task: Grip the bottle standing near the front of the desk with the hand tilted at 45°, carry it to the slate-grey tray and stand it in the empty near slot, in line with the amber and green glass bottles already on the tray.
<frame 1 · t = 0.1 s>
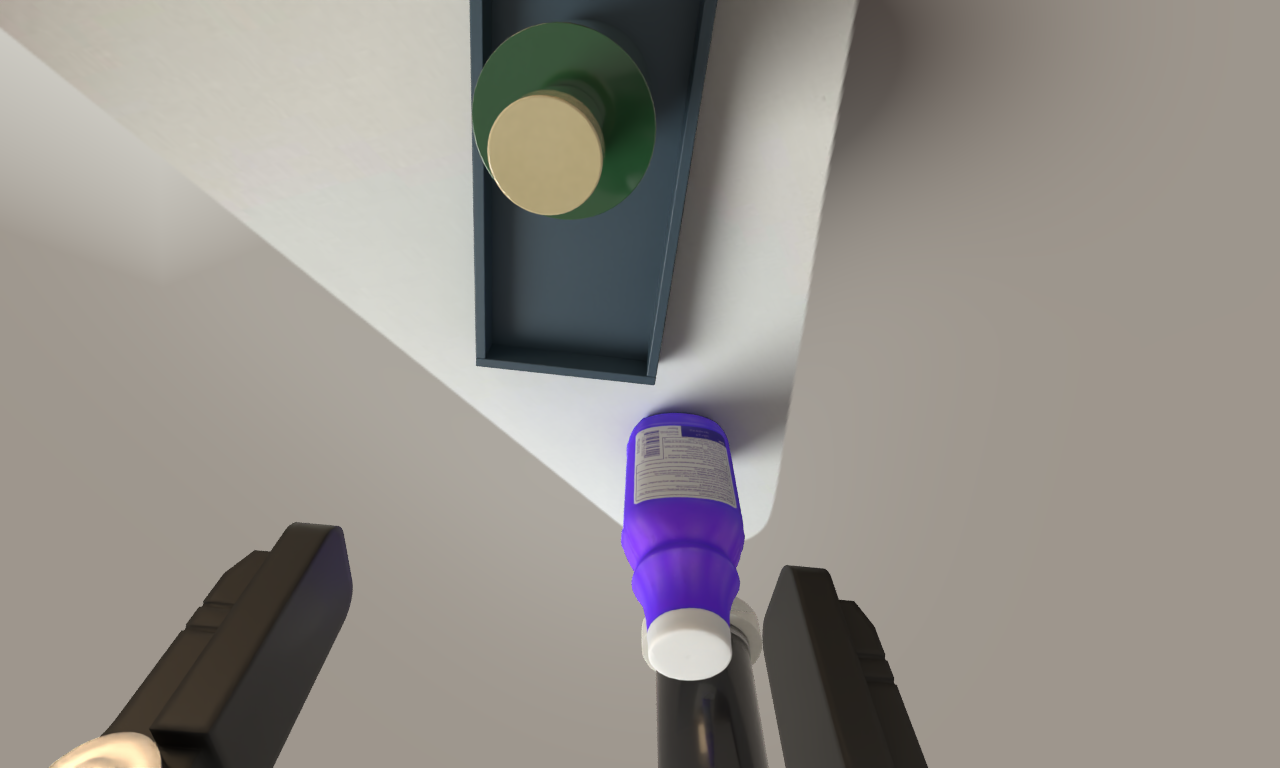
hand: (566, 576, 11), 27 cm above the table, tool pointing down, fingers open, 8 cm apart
bottle: (675, 437, 44), on the table
green bottle: (589, 90, 31), resting on tray
tray: (590, 89, 32), on the table
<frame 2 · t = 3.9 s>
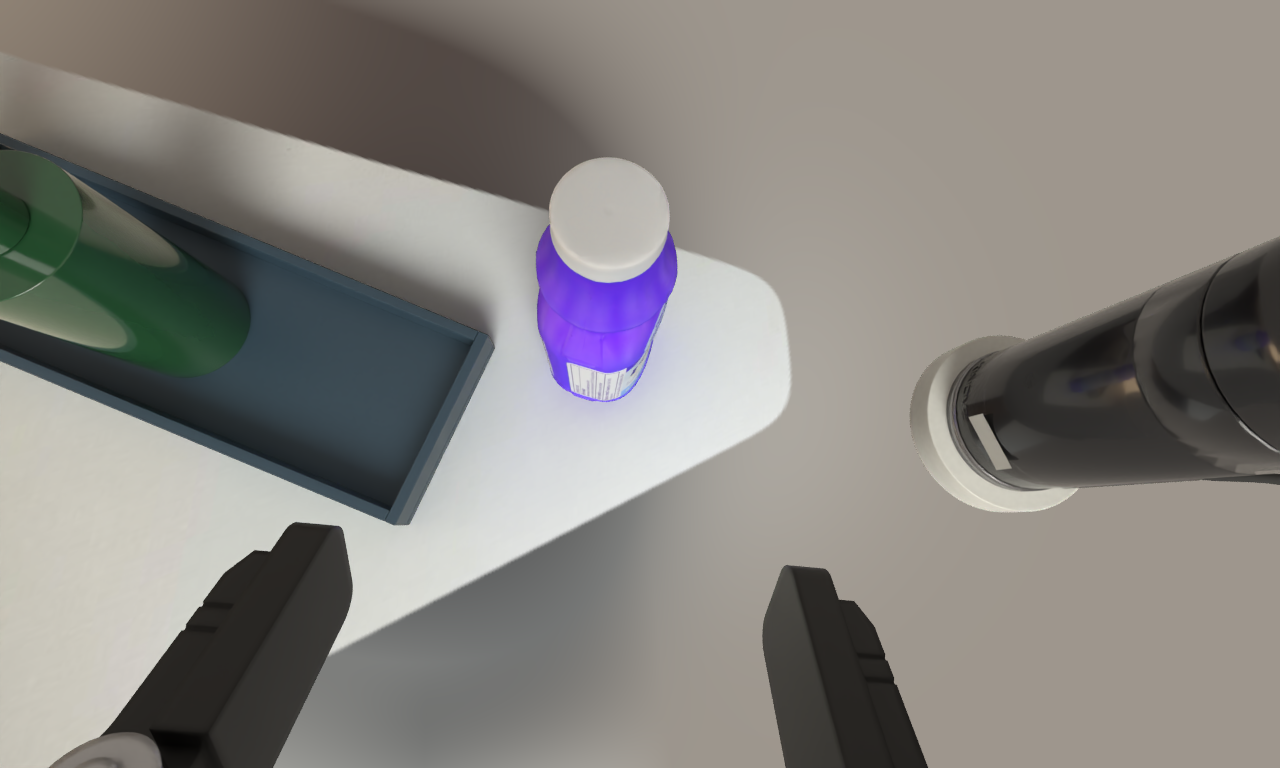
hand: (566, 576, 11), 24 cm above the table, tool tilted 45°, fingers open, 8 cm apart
bottle: (601, 350, 37), on the table
green bottle: (191, 323, 35), resting on tray
tray: (198, 327, 35), on the table
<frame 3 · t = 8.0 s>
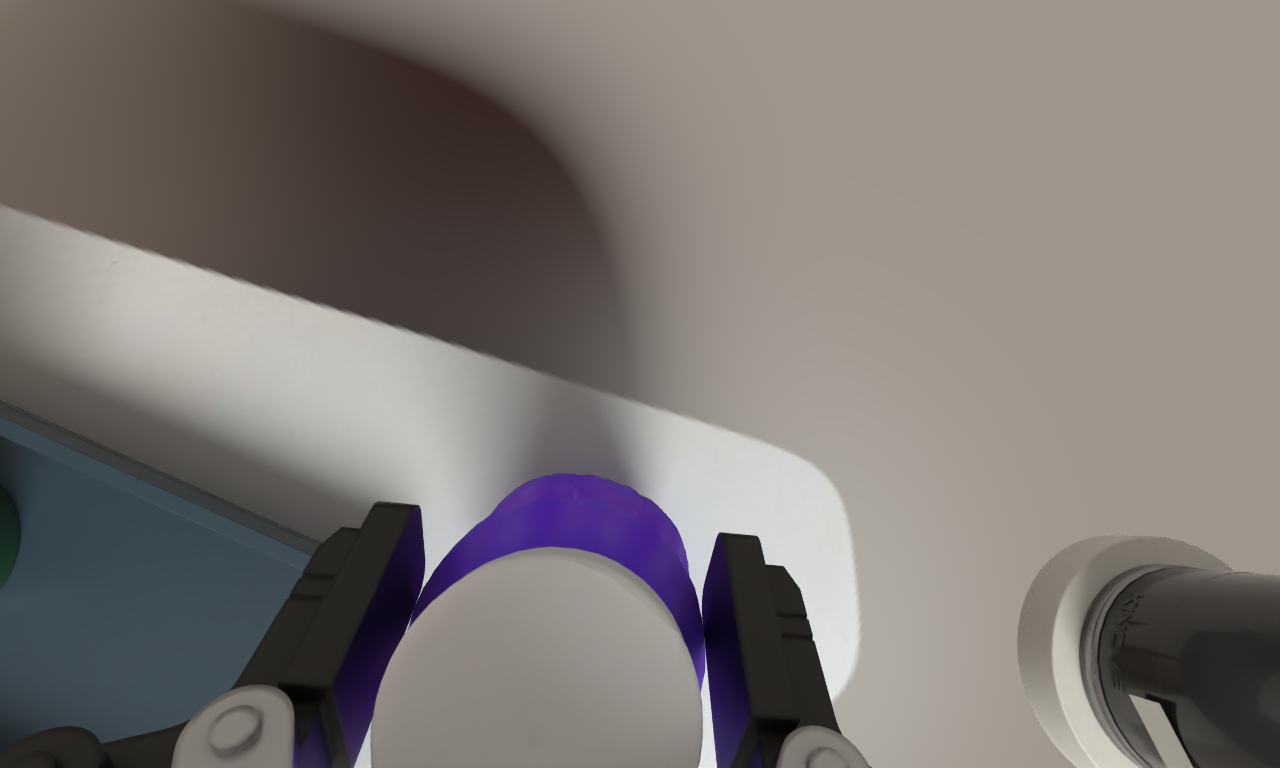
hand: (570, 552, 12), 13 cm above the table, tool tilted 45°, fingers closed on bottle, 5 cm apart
bottle: (573, 583, 24), on the table, touching gripper
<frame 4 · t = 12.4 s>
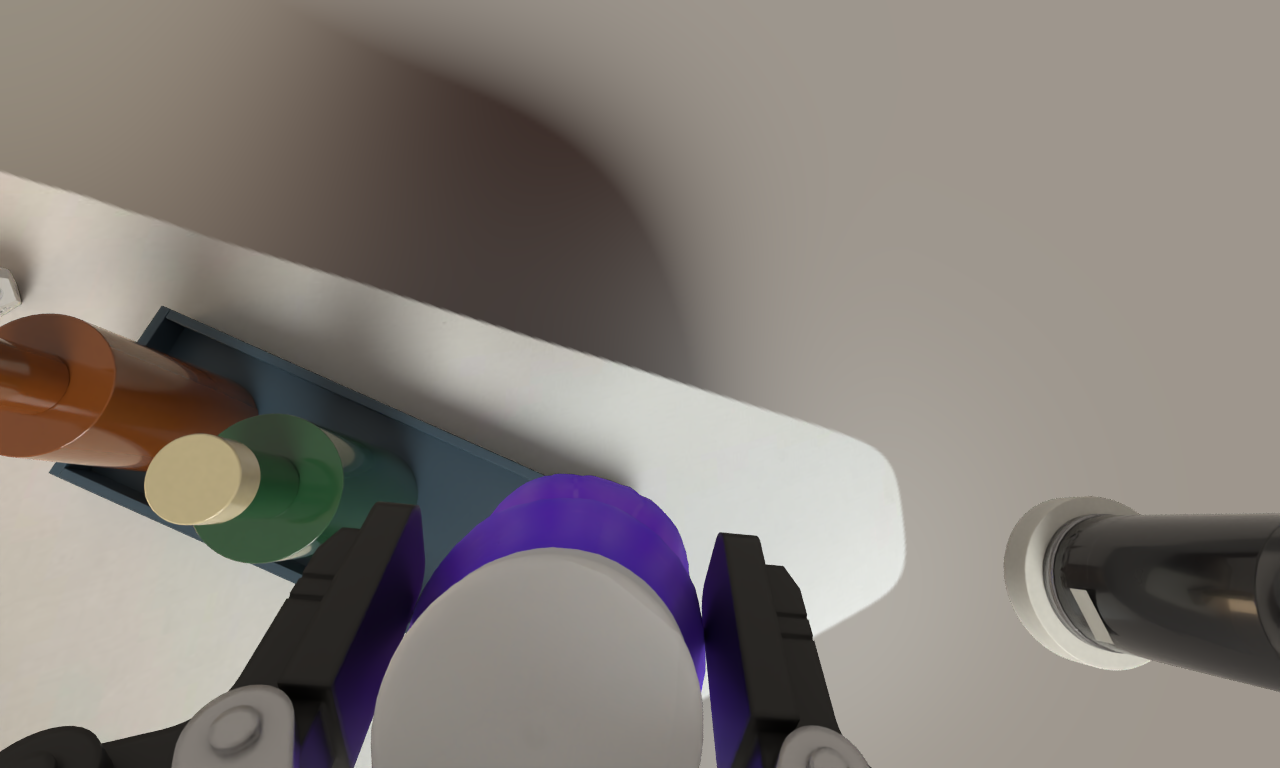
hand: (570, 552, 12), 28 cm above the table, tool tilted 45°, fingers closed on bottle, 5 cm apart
bottle: (573, 583, 24), point 15 cm above the table, touching gripper
green bottle: (365, 497, 38), resting on tray
game die: (6, 300, 39), on the table
amber bottle: (205, 425, 38), resting on tray
tray: (368, 497, 38), on the table
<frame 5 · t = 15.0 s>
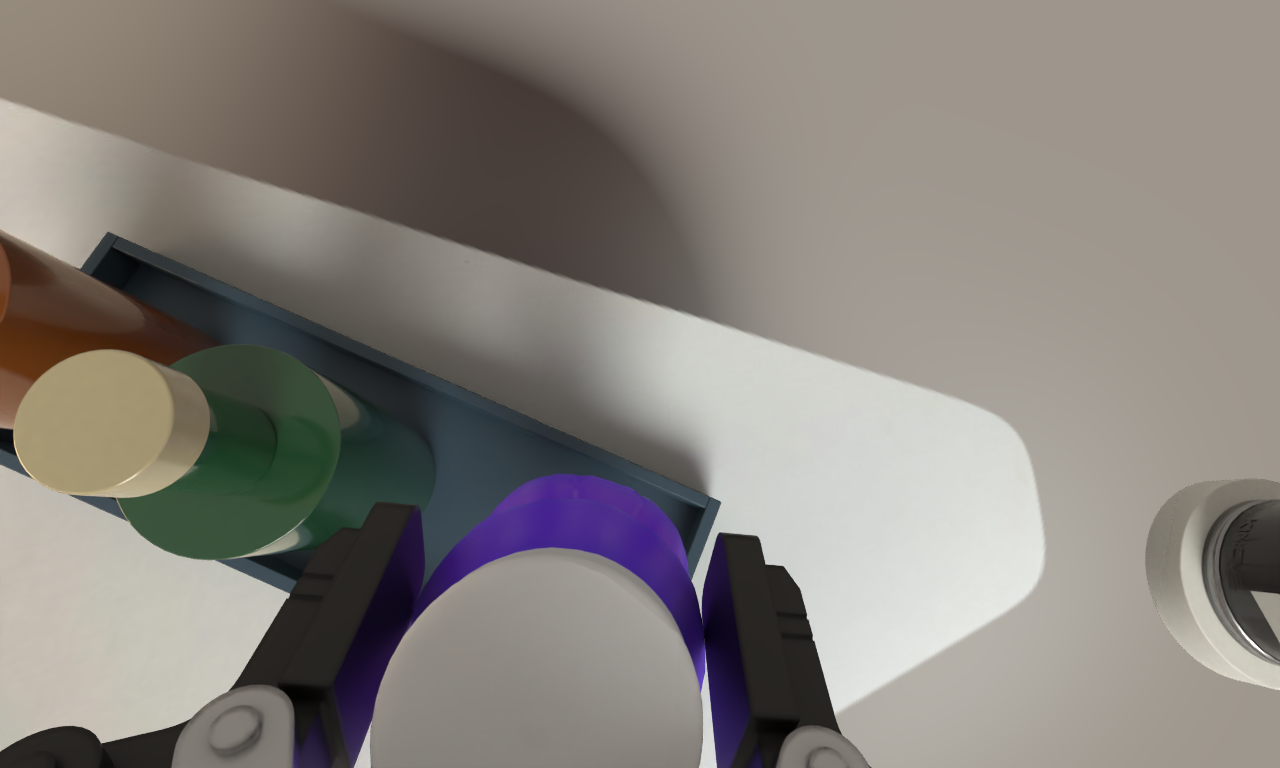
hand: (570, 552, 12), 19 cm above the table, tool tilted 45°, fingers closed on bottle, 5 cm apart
bottle: (572, 583, 24), point 6 cm above the table, touching gripper
green bottle: (368, 477, 30), resting on tray
amber bottle: (164, 386, 30), resting on tray
tray: (373, 478, 30), on the table
when the fingers open (14 cm above the table, at t = 17.1 s): bottle stays where it is, resting on tray.
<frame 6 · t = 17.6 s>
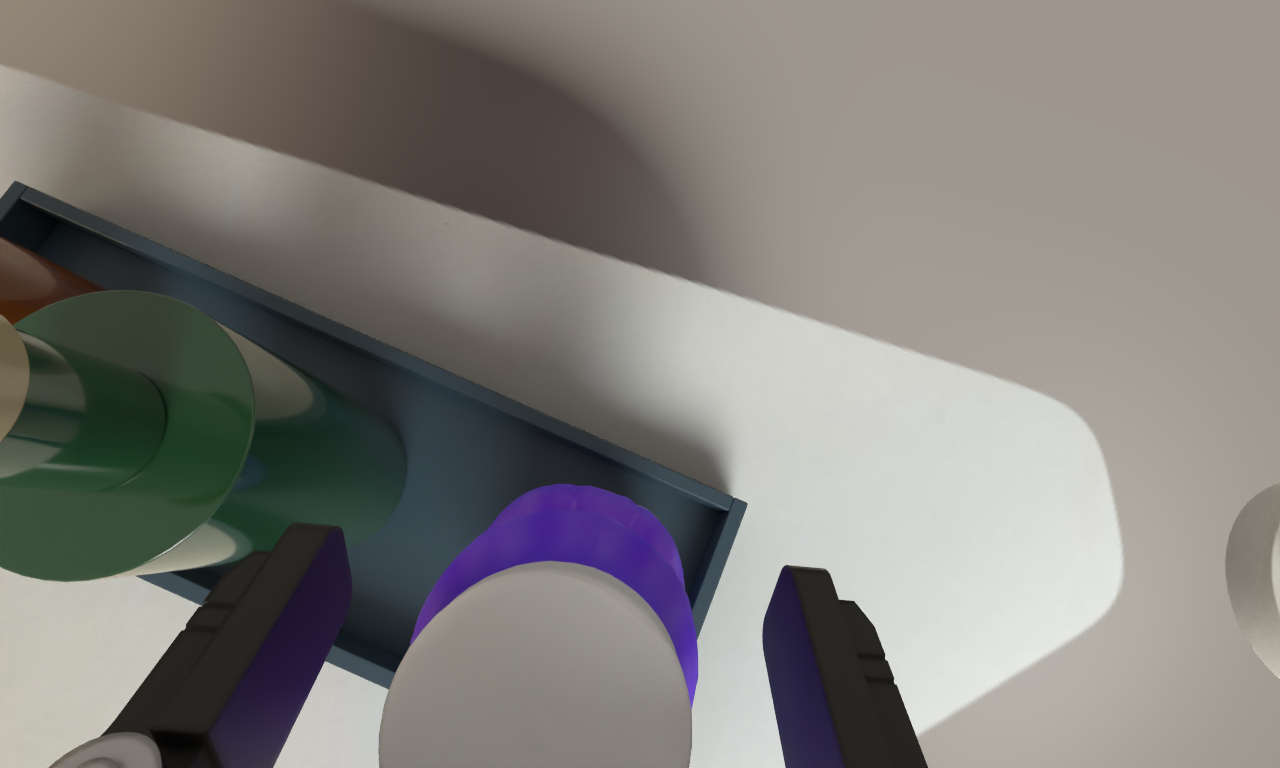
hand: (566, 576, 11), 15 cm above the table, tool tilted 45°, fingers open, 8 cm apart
bottle: (572, 588, 25), resting on tray
green bottle: (326, 474, 25), resting on tray
amber bottle: (83, 365, 25), resting on tray
tray: (332, 475, 25), on the table
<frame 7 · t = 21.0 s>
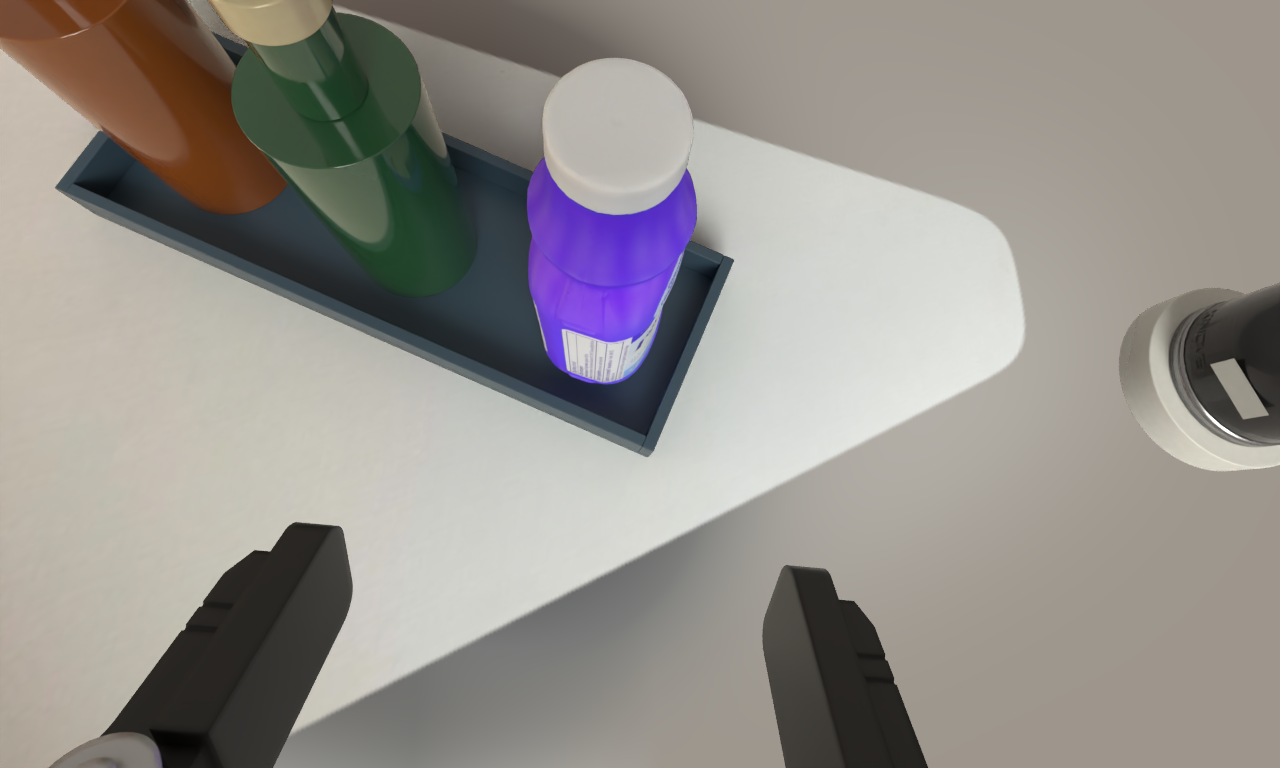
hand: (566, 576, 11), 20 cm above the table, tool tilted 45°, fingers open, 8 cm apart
bottle: (602, 328, 33), resting on tray
green bottle: (417, 242, 33), resting on tray
amber bottle: (234, 162, 33), resting on tray
tray: (420, 247, 34), on the table
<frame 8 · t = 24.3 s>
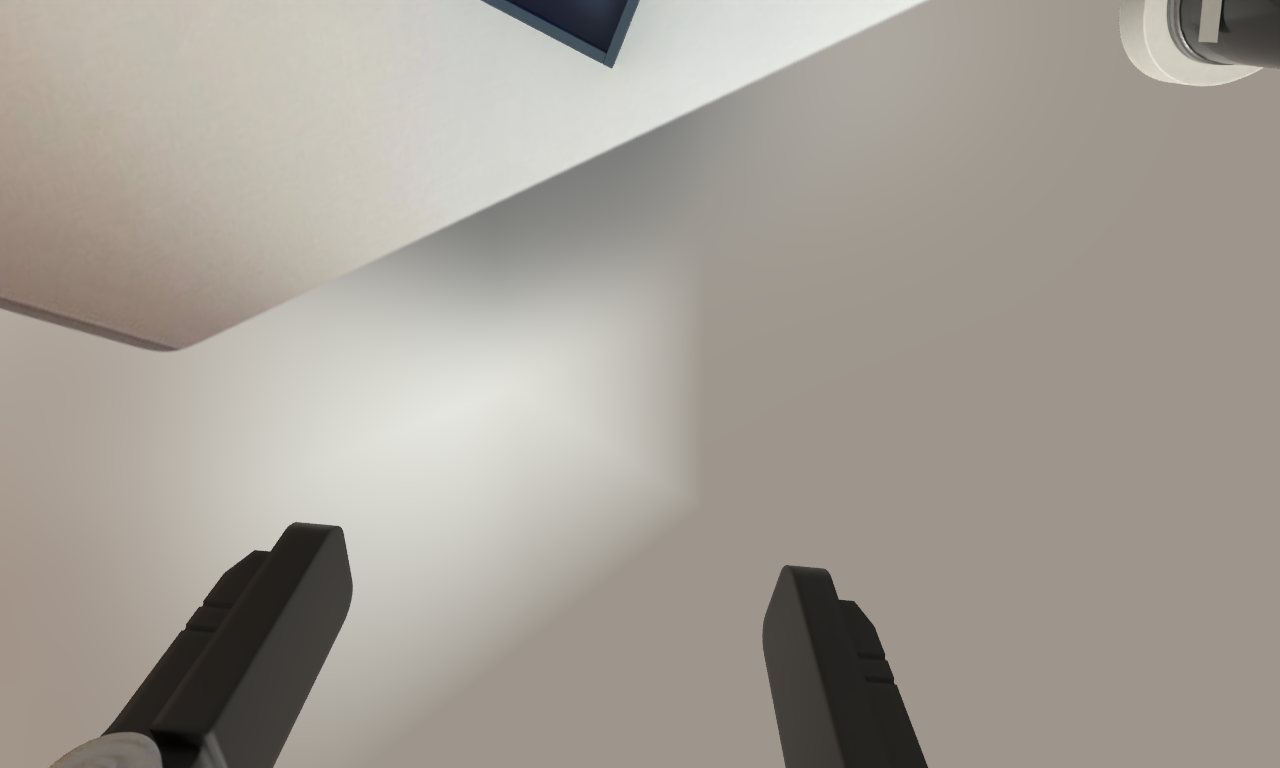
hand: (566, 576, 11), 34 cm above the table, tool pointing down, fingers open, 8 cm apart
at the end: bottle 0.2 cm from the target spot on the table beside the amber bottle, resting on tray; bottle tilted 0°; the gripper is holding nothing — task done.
